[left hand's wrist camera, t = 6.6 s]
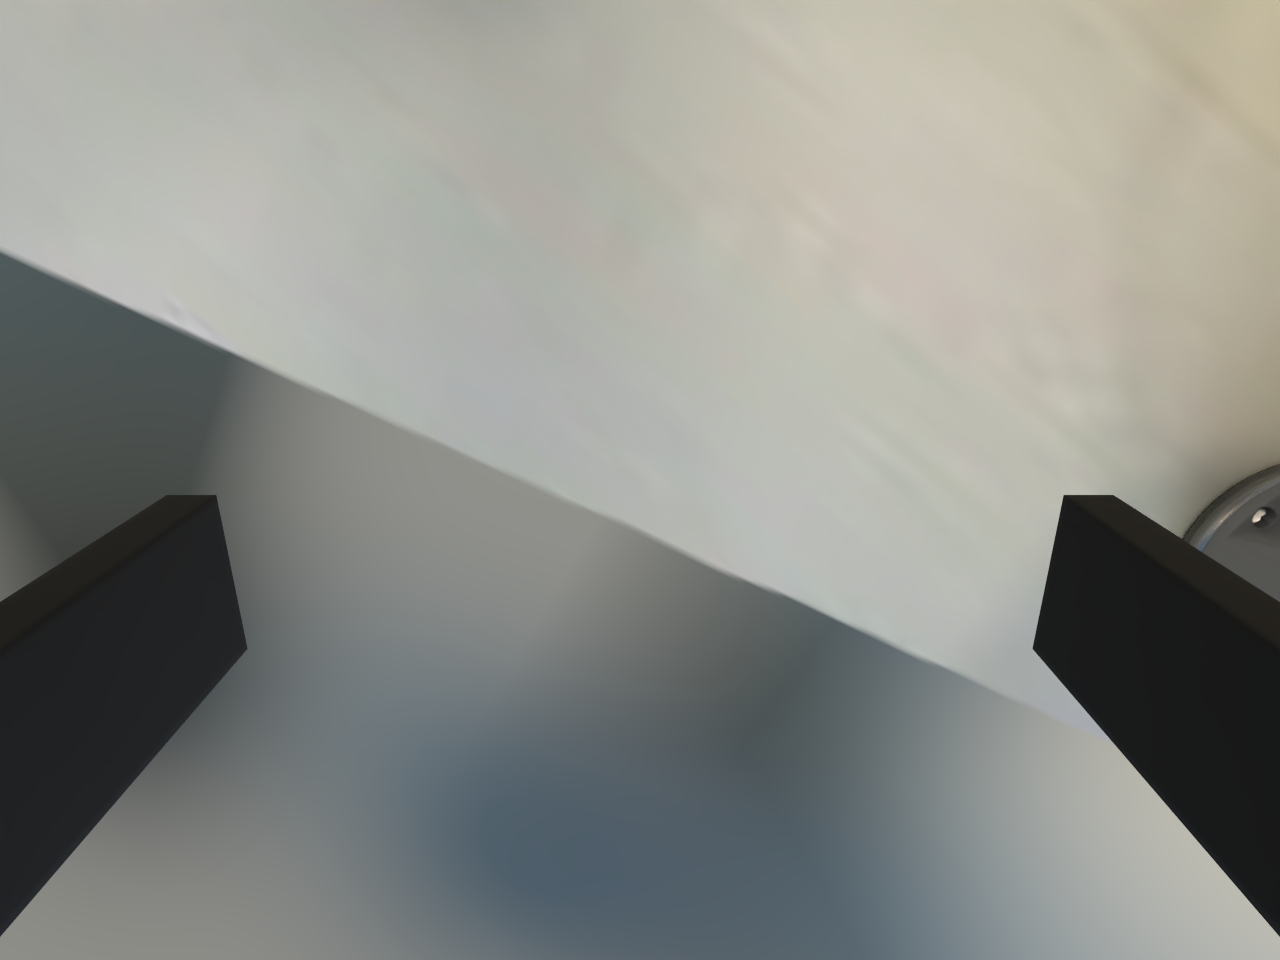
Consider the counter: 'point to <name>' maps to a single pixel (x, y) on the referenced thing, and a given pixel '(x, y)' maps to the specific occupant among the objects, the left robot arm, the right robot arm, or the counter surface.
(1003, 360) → the counter surface
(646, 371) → the counter surface
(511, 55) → the counter surface
